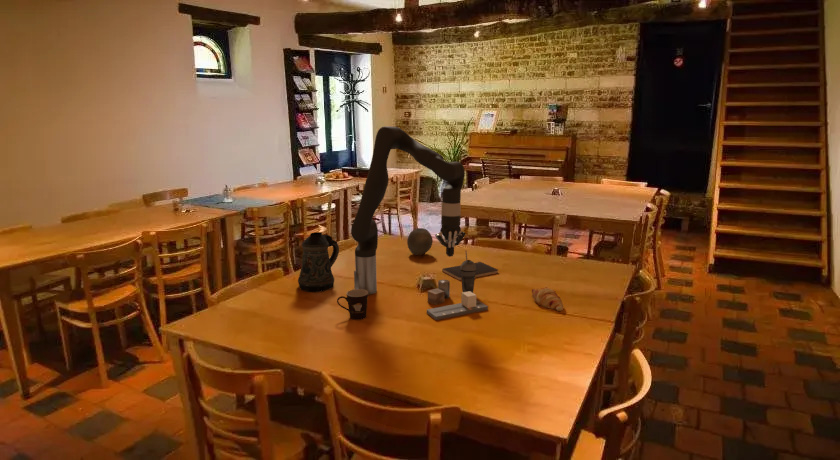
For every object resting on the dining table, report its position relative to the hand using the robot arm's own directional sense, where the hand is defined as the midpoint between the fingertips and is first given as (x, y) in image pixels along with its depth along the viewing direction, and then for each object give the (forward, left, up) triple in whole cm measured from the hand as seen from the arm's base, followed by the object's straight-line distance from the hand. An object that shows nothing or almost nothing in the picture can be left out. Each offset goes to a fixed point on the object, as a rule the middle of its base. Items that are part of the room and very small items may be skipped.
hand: (449, 255), depth 210 cm
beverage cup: (+16, +13, -23) cm, 31 cm away
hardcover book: (+34, +38, -24) cm, 56 cm away
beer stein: (-40, +54, -23) cm, 71 cm away
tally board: (+2, -2, -23) cm, 23 cm away
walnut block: (-1, +11, -23) cm, 26 cm away
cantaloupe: (+24, +77, -23) cm, 84 cm away
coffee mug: (-37, +12, -23) cm, 45 cm away
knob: (+8, -2, -22) cm, 23 cm away
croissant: (+40, -12, -24) cm, 48 cm away
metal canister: (+5, +15, -23) cm, 28 cm away
